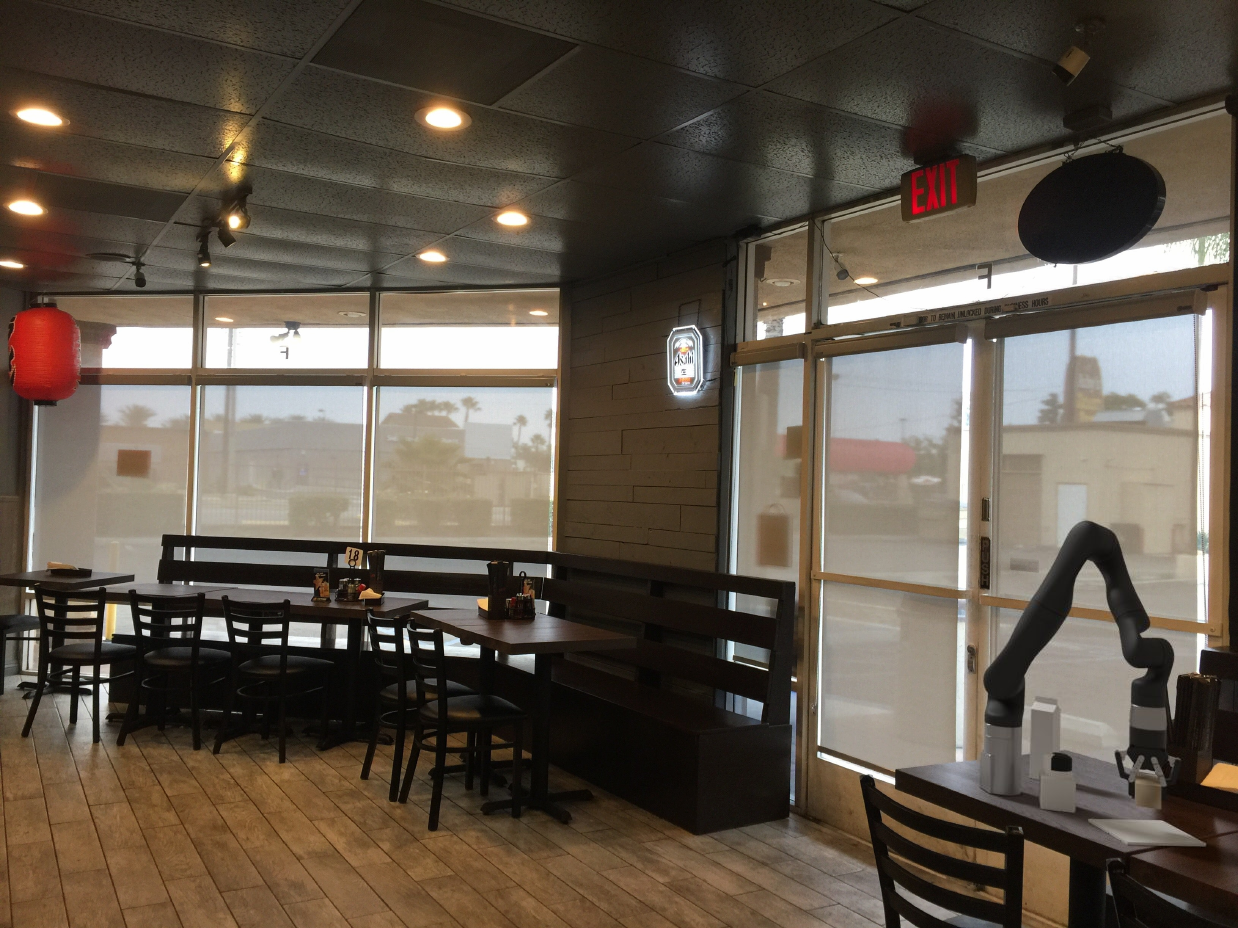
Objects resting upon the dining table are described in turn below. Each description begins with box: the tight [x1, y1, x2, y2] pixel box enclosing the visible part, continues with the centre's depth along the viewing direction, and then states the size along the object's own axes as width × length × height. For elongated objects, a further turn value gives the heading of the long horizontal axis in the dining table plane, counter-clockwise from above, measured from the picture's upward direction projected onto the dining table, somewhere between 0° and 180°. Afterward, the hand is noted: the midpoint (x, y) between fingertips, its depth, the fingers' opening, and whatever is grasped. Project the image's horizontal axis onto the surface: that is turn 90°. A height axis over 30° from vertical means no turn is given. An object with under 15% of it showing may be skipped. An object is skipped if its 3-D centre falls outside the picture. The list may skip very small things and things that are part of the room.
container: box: [1038, 752, 1077, 814], centre depth 246 cm, size 8×8×13 cm
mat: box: [1087, 818, 1207, 847], centre depth 228 cm, size 18×16×1 cm
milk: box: [1028, 695, 1062, 781], centre depth 273 cm, size 6×6×22 cm
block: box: [1134, 771, 1162, 810], centre depth 228 cm, size 5×5×12 cm
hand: (1146, 799), depth 228 cm, fingers closed on block, 5 cm apart
